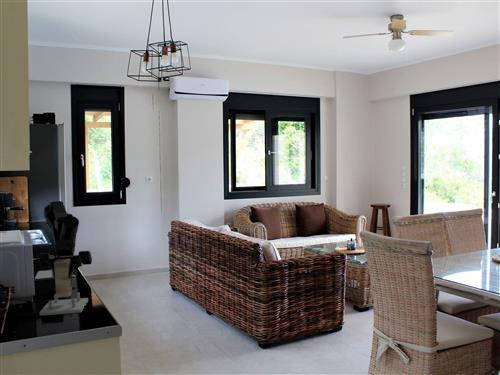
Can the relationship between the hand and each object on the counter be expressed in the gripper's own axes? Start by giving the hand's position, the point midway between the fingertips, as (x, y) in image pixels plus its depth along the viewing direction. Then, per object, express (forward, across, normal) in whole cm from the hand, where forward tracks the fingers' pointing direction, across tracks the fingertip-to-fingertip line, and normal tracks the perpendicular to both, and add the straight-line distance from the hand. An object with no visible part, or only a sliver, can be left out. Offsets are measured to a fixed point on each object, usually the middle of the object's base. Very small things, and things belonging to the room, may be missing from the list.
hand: (62, 278), depth 174 cm
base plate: (+7, 0, +9) cm, 11 cm away
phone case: (-31, -21, +48) cm, 61 cm away
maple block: (+4, 0, +6) cm, 7 cm away
